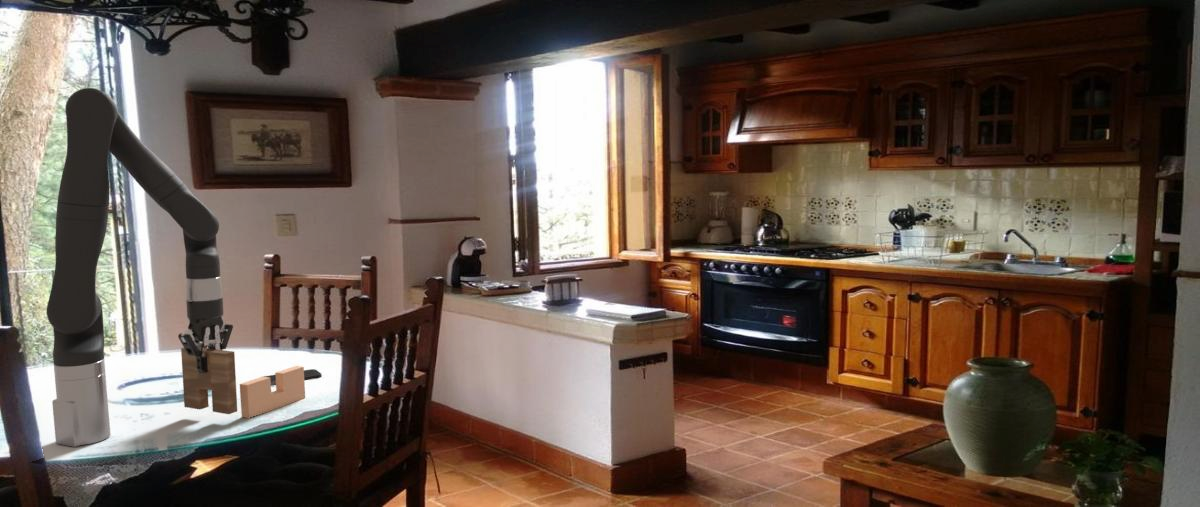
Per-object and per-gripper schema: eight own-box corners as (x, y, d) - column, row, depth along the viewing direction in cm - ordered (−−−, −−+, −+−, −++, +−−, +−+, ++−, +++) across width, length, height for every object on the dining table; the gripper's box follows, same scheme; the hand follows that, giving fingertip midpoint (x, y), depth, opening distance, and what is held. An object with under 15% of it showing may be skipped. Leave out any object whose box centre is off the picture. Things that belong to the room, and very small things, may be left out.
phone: (322, 374, 228) (265, 383, 219) (322, 378, 228) (265, 387, 219) (314, 368, 234) (258, 376, 226) (314, 372, 234) (259, 380, 226)
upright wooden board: (228, 414, 187) (225, 353, 185) (184, 407, 192) (181, 348, 191) (237, 411, 189) (234, 351, 187) (193, 404, 194) (189, 346, 193)
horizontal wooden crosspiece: (249, 418, 192) (247, 385, 191) (241, 417, 193) (239, 384, 192) (305, 397, 208) (303, 366, 207) (297, 396, 209) (296, 365, 208)
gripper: (217, 291, 195) (221, 362, 197) (166, 300, 183) (170, 376, 185) (241, 293, 193) (244, 365, 194) (190, 302, 180) (194, 380, 182)
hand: (208, 370), depth 190 cm, fingers closed on upright wooden board, 2 cm apart
